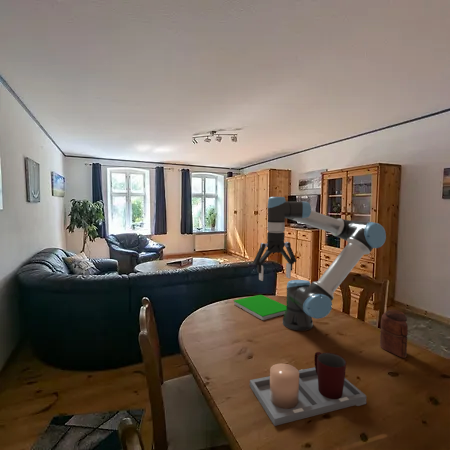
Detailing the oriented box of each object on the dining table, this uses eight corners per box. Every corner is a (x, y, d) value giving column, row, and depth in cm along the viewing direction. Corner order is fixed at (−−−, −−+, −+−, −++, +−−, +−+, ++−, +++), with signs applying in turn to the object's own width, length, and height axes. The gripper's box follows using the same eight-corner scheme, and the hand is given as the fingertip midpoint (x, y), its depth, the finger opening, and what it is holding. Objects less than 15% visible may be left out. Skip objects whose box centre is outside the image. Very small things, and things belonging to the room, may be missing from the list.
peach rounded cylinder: (289, 387, 95) (289, 361, 94) (304, 405, 87) (305, 377, 86) (264, 392, 92) (265, 366, 92) (277, 411, 84) (278, 382, 83)
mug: (304, 381, 98) (305, 350, 97) (324, 375, 102) (325, 346, 101) (329, 404, 87) (330, 370, 86) (350, 397, 90) (352, 364, 90)
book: (262, 321, 150) (262, 316, 150) (233, 305, 174) (233, 300, 174) (292, 313, 162) (292, 308, 162) (261, 298, 186) (261, 294, 186)
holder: (328, 371, 105) (329, 363, 105) (366, 403, 88) (366, 395, 88) (249, 387, 96) (249, 379, 95) (274, 427, 79) (274, 418, 78)
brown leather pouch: (412, 355, 116) (415, 313, 115) (403, 359, 113) (406, 316, 112) (384, 343, 127) (386, 304, 125) (375, 346, 124) (377, 306, 122)
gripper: (296, 230, 132) (294, 274, 133) (246, 231, 124) (245, 278, 126) (305, 231, 125) (303, 278, 126) (253, 233, 117) (252, 283, 119)
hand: (274, 279), depth 126 cm, fingers open, 13 cm apart
